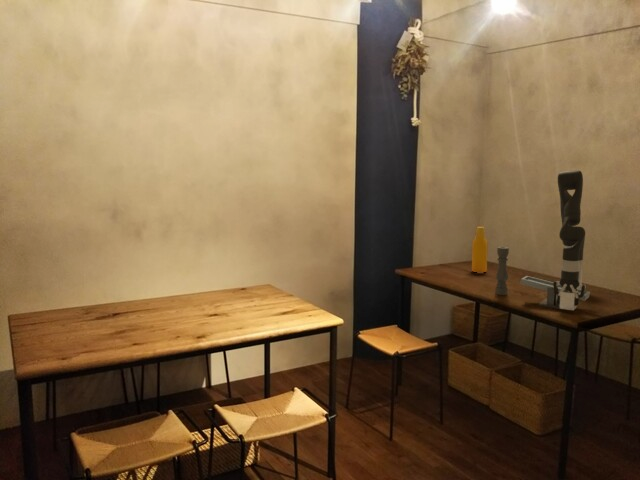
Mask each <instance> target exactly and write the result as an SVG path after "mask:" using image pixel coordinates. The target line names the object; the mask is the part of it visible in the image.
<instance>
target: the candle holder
mask: <svg viewBox="0 0 640 480" xmlns="http://www.w3.org/2000/svg"><path fill="white" fill-rule="evenodd" d="M509 251H510V249H509V247H508V246H507V247H506V246H497V251H496V252H497V256H498V258H497V261H498V267H497V271H496V275H495V279H496V280H497V283H496V284H495V288H494V290H495V292H494V293H495V294H494V295H498V296H507V295H508V284H507V280H508V278H509V275H508V269H507V262H508V261H509V258H508V256H509V253H510V252H509Z"/></svg>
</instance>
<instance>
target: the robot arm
mask: <svg viewBox="0 0 640 480" xmlns="http://www.w3.org/2000/svg"><path fill="white" fill-rule="evenodd" d="M583 186H584V177H583V172H582V171H581V170H567V171H566V170H565V171H560V172H559V173H558V174H557V187H558V193H559V202H560V203H559V204H560V217H561V228H560V231H559V238H560V239H559V240H561V241H562V244H563V246H565V247H563V249H562V259H561V267H560V269H561V270H560V280H554V281H552V282H553V286H554V294H557V295H558V302H559V304H560V292H561V291H564V290H565V291H573V293H575V297H576V298H575V306H577V307H578V306H579V304H580V300H579V298H582V297H583V296H584V293H585V291H586V287H587V284H585V283H584V284H582V282H583V281H582V278H583V277H582V276H583V262H584V248H585V239H586V230H585V228H584V227H582V226H578V225H580V223H581V216H582V215H581V213H582V212H581V205H582V204H581V203H582V202H581V201H582V196H583V188H584V187H583ZM569 191H574V192H573V194H571V193H570V192H569ZM559 284H560V285H561V286H562V289H561V290H560V292H558V285H559ZM577 289H581V293H580V295H579V293H578V290H577Z"/></svg>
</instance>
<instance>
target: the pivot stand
mask: <svg viewBox="0 0 640 480" xmlns="http://www.w3.org/2000/svg"><path fill="white" fill-rule="evenodd" d="M546 292H547V293H546V297H545V298H544V299H543V300H541V301H540V302H539V303H538V306H540V307H545V308H552V309H558V310H561V309H560V304H559V302H558V295H557V294H554V289H552V288H548V289H547V291H546Z"/></svg>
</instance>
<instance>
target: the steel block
mask: <svg viewBox="0 0 640 480" xmlns="http://www.w3.org/2000/svg"><path fill="white" fill-rule="evenodd" d="M575 298H576V297H575V293H573V291H565V290H564V291H561V292H560V309H559V310H567V311H574V310H576V308H578V305H577V306H575Z"/></svg>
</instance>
